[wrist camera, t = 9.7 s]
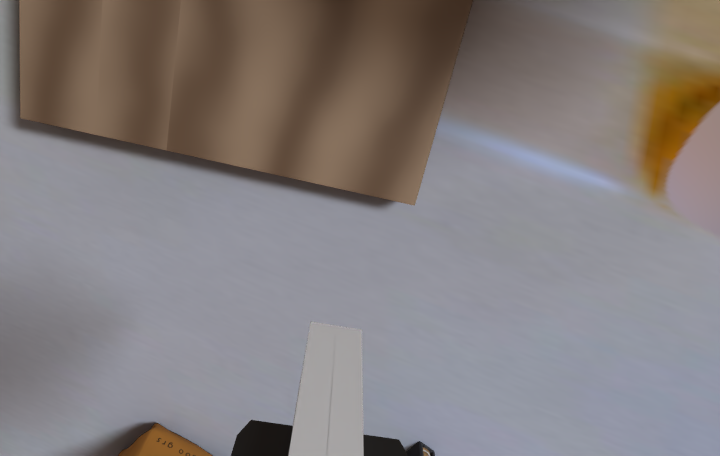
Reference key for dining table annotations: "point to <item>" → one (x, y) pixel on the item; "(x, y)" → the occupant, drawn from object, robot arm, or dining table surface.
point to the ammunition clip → (420, 450)
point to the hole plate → (252, 81)
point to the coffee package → (162, 444)
